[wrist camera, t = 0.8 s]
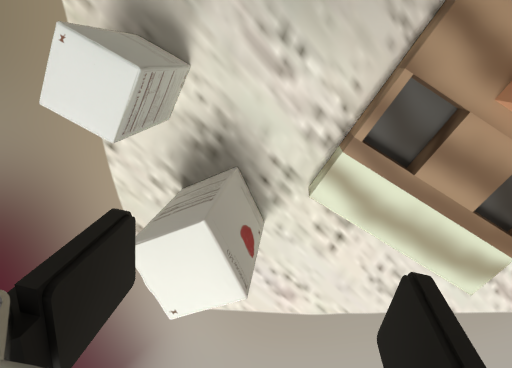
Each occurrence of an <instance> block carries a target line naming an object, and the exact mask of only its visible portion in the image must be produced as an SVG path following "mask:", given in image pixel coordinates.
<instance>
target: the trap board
mask: <svg viewBox="0 0 512 368" xmlns="http://www.w3.org/2000/svg"><path fill="white" fill-rule="evenodd" d="M511 81H512V0H446V1H445V2H444V4H443V5H442V6H441V8H440V9H439V10H438V12H437V13H436V15H435V16H434V17H433V19H432V20H431V21H430V23H429V24H428V25H427V27H426V28H425V30H424V31H423V32H422V34H421V35H420V36H419V38H418V39H417V40H416V42H415V43H414V45H413V46H412V47H411V49H410V50H409V51H408V53H407V54H406V55H405V57H404V58H403V60H402V61H401V62H400V64H399V65H398V66H397V68H396V69H395V70H394V72H393V73H392V74H391V76H390V77H389V79H388V80H387V81H386V83H385V84H384V85H383V87H382V88H381V89H380V91H379V92H378V94H377V95H376V96H375V98H374V99H373V100H372V102H371V103H370V104H369V106H368V107H367V109H366V110H365V111H364V113H363V114H362V115H361V117H360V118H359V119H358V121H357V122H356V124H355V125H354V126H353V128H352V129H351V130H350V132H349V133H348V134H347V136H346V137H345V139H344V140H343V141H342V143H341V144H340V145H339V147H338V148H337V149H336V151H335V152H334V154H333V155H332V156H331V158H330V159H329V160H328V162H327V163H326V164H325V166H324V167H323V169H322V170H321V171H320V173H319V174H318V175H317V177H316V178H315V179H314V181H313V182H312V184H311V185H310V186H309V197H310V198H311V199H313V200H315V201H316V202H318V203H320V204H321V205H323V206H325V207H326V208H328V209H330V210H331V211H333V212H335V213H336V214H338V215H339V216H341V217H343V218H344V219H346V220H348V221H349V222H351V223H353V224H354V225H356V226H358V227H359V228H361V229H362V230H364V231H366V232H367V233H369V234H371V235H372V236H374V237H376V238H377V239H379V240H381V241H382V242H384V243H386V244H387V245H389V246H390V247H392V248H394V249H395V250H397V251H399V252H400V253H402V254H404V255H405V256H407V257H409V258H410V259H412V260H414V261H415V262H417V263H418V264H420V265H422V266H423V267H425V268H427V269H428V270H430V271H432V272H433V273H435V274H437V275H438V276H440V277H442V278H443V279H445V280H446V281H448V282H450V283H451V284H453V285H455V286H456V287H458V288H460V289H461V290H463V291H465V292H466V293H468V294H470V295H473V294H474V293H475V292H476V291H477V290H479V289H480V288H481V287H482V286H483V285H485V284H486V283H487V282H488V281H490V280H491V279H492V278H493V277H494V276H496V275H497V274H498V273H499V272H500V271H502V270H503V269H504V268H505V267H506V266H508V265H509V264H510V263H511V262H512V111H511V110H509V109H508V108H506V107H505V106H503V105H502V104H500V103H499V102H497V101H496V100H495V99H496V98H497V96H498V95H499V94H500V93H501V92H502V91H503V90H504V89H505V88H506V87H507V85H508V84H509V83H510V82H511Z"/></svg>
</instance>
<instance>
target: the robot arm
mask: <svg viewBox="0 0 512 368" xmlns="http://www.w3.org/2000/svg"><path fill="white" fill-rule="evenodd" d="M134 281H135V217H132V215H131V213H130V212H129V211H124V210H119V209H111V210H110V211H108V212H107V213H106V214H105V215H103V216H102V217H101V218H100V219H98V220H97V221H96V222H94V223H93V224H92V225H90V226H89V227H88V228H87V229H85V230H84V231H83V232H82V233H80V234H79V235H78V236H76V237H75V238H74V239H72V240H71V241H70V242H69V243H67V244H66V245H65V246H63V247H62V248H61V249H60V250H58V251H57V252H56V253H54V254H53V255H52V256H51V257H49V258H48V259H47V260H46V261H44V262H43V263H42V264H40V265H39V266H38V267H36V268H35V269H34V270H32V271H31V272H30V273H29V274H28V275H26V276H25V277H23V278H22V279H21V280H20V281H18V282H17V283H16V284H15V287H14V288H13V289H11V290H10V291H9V292H8V293H6V292H5V291H3V290H0V368H71V367H72V366H73V365H74V364H75V362H76V361H77V360H78V358H79V357H80V355H81V354H82V353H83V352H84V350H85V349H86V348H87V346H88V345H89V344H90V342H91V341H92V340H93V338H94V337H95V336H96V334H97V333H98V332H99V330H100V329H101V327H102V326H103V325H104V323H105V322H106V321H107V320H108V318H109V317H110V316H111V314H112V313H113V312H114V310H115V309H116V308H117V306H118V305H119V304H120V302H121V301H122V300H123V298H124V297H125V296H126V294H127V293H128V292H129V290H130V289H131V288H132V286H133V284H134ZM377 344H378V348H379V352H380V356H381V359H382V363H383V367H384V368H486V366H485V365H484V363H483V361H482V360H481V358H480V357H479V355H478V353H477V352H476V350H475V348H474V347H473V345H472V343H471V342H470V340H469V338H468V337H467V335H466V334H465V332H464V330H463V328H462V327H461V325H460V323H459V322H458V321H457V318H456V317H455V315H454V313H453V312H452V310H451V308H450V307H449V305H448V304H447V302H446V300H445V299H444V297H443V295H442V294H441V292H440V290H439V289H438V287H437V285H436V284H435V282H434V280H433V279H432V278H431V276H428V275H423V274H419V273H414V272H411V273H409V274H408V276H407V275H404V276H403V277H402V279H401V281H400V283H399V286H398V288H397V290H396V292H395V295H394V297H393V299H392V302H391V304H390V306H389V308H388V311H387V313H386V315H385V318H384V320H383V322H382V325H381V327H380V329H379V331H378V335H377Z"/></svg>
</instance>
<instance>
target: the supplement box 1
mask: <svg viewBox="0 0 512 368" xmlns="http://www.w3.org/2000/svg"><path fill="white" fill-rule="evenodd" d="M189 69H190V65H189V64H187V63H185V62H184V61H182V60H180V59H179V58H177V57H175V56H174V55H172V54H170V53H168V52H167V51H165V50H163V49H161V48H160V47H158V46H156V45H154V44H152V43H151V42H149V41H147V40H145V39H144V38H142V37H140V36H138V35H135V34H130V33H124V32H118V31H112V30H107V29H101V28H95V27H90V26H84V25H78V24H73V23H67V22H61V21H57V23H56V28H55V32H54V36H53V41H52V45H51V50H50V55H49V59H48V64H47V68H46V73H45V78H44V83H43V87H42V92H41V96H40V104H41V105H42V106H44V107H46V108H48V109H50V110H52V111H54V112H55V113H57V114H59V115H61V116H63V117H65V118H66V119H68V120H70V121H72V122H74V123H76V124H78V125H79V126H81V127H83V128H85V129H87V130H89V131H90V132H92V133H94V134H96V135H98V136H100V137H101V138H103V139H105V140H107V141H109V142H111V143H115V142H118V141H120V140H122V139H125V138H127V137H129V136H132V135H134V134H136V133H139V132H141V131H143V130H146V129H148V128H150V127H153V126H155V125H157V124H160V123H162V122H164V121H167V120H169V118H170V115H171V113H172V110H173V108H174V105H175V103H176V101H177V98H178V96H179V93H180V91H181V88H182V86H183V84H184V81H185V79H186V76H187V74H188V71H189Z"/></svg>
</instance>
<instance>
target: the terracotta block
mask: <svg viewBox="0 0 512 368" xmlns="http://www.w3.org/2000/svg"><path fill="white" fill-rule="evenodd" d="M495 100H496V101H497V102H499V103H500V104H502V105H503V106H505V107H506V108H508V109H509V110H511V111H512V81H511V82H510V83H509V84H508V85H507V87H506V88H505V89H504V90H503V91H502V92H501V93H500V94H499V95H498V96H497V98H496V99H495Z"/></svg>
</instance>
